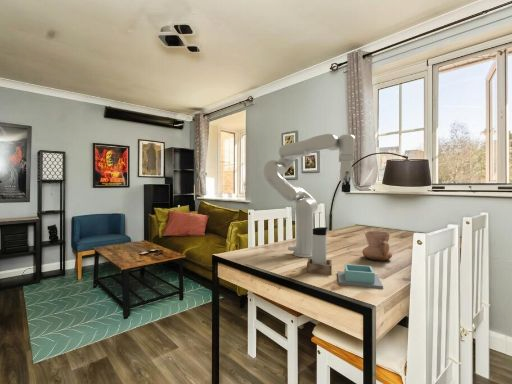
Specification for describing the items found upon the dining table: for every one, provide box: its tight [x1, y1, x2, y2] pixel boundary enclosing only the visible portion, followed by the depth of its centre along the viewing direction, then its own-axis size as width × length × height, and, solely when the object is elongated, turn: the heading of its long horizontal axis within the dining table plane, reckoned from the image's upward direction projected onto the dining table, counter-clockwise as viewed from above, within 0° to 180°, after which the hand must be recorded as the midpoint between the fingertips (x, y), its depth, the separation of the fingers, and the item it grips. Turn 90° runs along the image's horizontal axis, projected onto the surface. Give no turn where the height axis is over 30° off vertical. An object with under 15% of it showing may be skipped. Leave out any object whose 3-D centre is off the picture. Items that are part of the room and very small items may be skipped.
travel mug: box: [311, 226, 328, 265], centre depth 125 cm, size 6×7×20 cm
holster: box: [306, 257, 333, 276], centre depth 125 cm, size 11×10×4 cm
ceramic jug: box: [361, 230, 393, 262], centre depth 144 cm, size 18×14×14 cm
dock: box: [337, 263, 384, 290], centre depth 112 cm, size 16×14×5 cm
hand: (345, 192), depth 141 cm, fingers open, 9 cm apart
